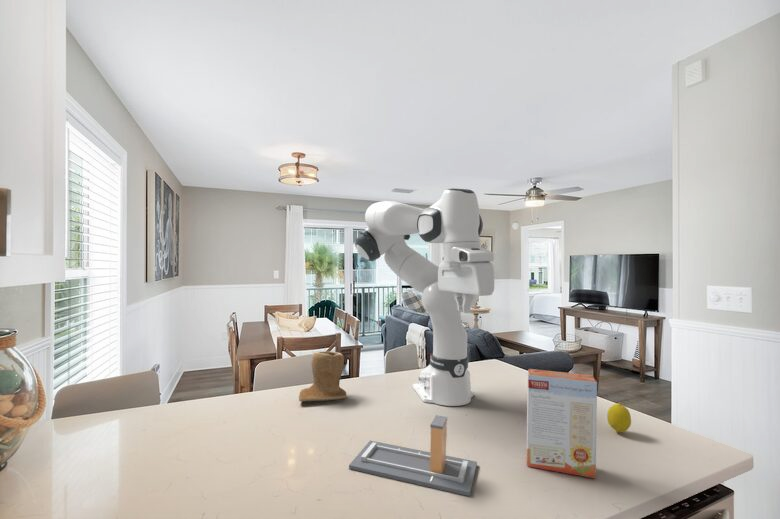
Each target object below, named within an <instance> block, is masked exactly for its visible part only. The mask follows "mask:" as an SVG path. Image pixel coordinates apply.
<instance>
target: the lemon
mask: <svg viewBox="0 0 780 519" xmlns="http://www.w3.org/2000/svg"><path fill="white" fill-rule="evenodd" d="M606 417H607V418H606V419H607V423H608V425H609V427H611V428H612V429H613V430H614V431H615V432H616V433H618V434H620V433H622V432H626V431H628V430H629V429H630V426H631V425H632V417H631V413H630V411H629V409H628V408H627V407H626V406H624V405H623V404H621V403H616V404H612V405H610V407H609V409H608V411H607V415H606Z"/></svg>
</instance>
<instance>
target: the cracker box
mask: <svg viewBox="0 0 780 519" xmlns="http://www.w3.org/2000/svg"><path fill="white" fill-rule="evenodd" d="M527 371H528V372H527V401H526V402H527V405H526V408H527V409H526V466H527V467H530V468H535V469H542V470H545V471H552V472H557V473H563V474H568V475H569V474H570V475H575V476H580V477H586V478H590V479H591V478H592V479H595V478H596V465H597V464H596V462H597V459H596V457H597V456H596V455H597V412H598V411H597V409H598V408H597V407H598V406H597V405H598V404H597V403H598V401H597V400H598V399H597V398H598V382H597V380H596V378H595V377H594V375H592V374H583V373H582V374H581V373H576V372H575V373H573V372H565V371H564V372H563V371H555V370H554V371H553V370H543V369H535V368H534V369H533V368H528V369H527Z"/></svg>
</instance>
